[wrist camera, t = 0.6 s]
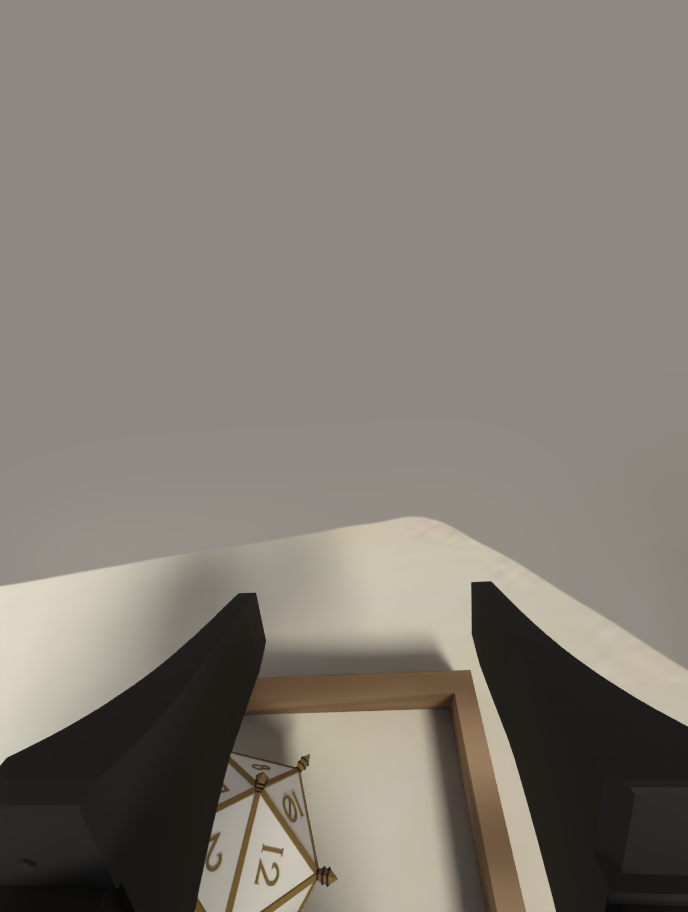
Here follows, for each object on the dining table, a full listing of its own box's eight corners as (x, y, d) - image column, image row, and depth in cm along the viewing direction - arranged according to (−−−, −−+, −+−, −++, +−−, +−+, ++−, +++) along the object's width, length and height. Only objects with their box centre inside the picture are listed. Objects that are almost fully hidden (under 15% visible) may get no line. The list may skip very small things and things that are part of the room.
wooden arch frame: (564, 1160, 14) (593, 1207, 12) (96, 1145, 15) (50, 1187, 13) (464, 686, 25) (470, 670, 23) (202, 695, 26) (186, 680, 24)
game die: (237, 872, 23) (72, 842, 18) (319, 730, 25) (190, 674, 21) (298, 1103, 15) (35, 1146, 11) (409, 867, 17) (231, 822, 13)
